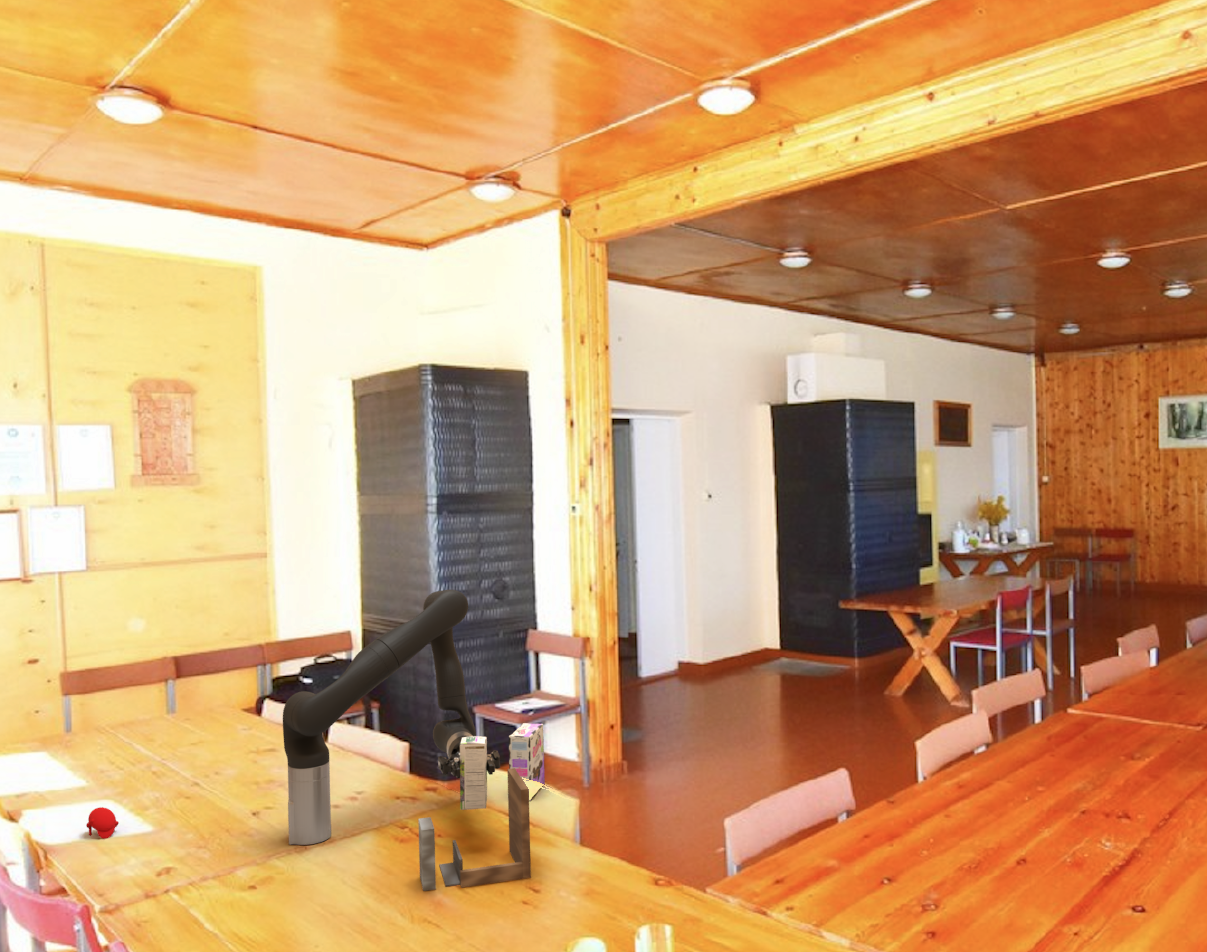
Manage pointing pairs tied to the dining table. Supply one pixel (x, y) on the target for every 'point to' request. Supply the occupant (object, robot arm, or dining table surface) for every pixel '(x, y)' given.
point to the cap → (102, 822)
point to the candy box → (528, 752)
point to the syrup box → (473, 773)
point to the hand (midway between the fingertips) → (475, 771)
